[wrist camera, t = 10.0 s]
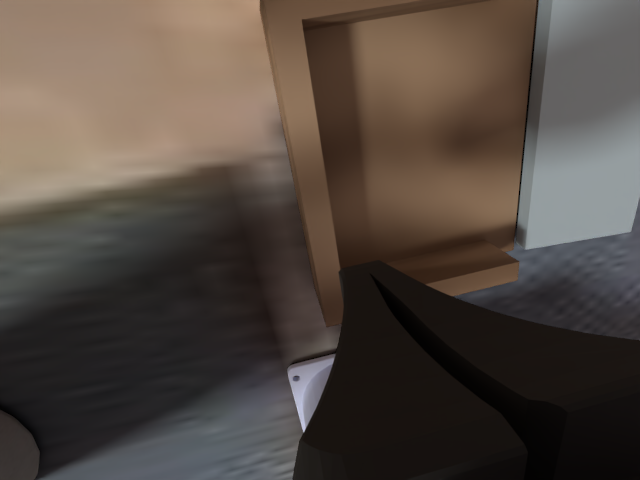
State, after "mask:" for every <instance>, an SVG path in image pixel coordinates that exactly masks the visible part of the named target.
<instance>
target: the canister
mask: <svg viewBox="0 0 640 480" xmlns="http://www.w3.org/2000/svg"><path fill="white" fill-rule="evenodd" d="M39 457H40V451H39V449H38V447H37V445H36V442H35V440H34V438H33V436H32V434H31V433H30V432H29V431H28V430H27V429H26V428H25V427H24V426H23V425H22V424H21V423H20V422H19V421H18V420H17V419H16V418H14V417H13V416H11V415H9V414H7V413H5V412H3V411H2V410H0V480H35V478H36V476H37V474H38V468H39Z"/></svg>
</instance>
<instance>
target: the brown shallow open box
mask: <svg viewBox="0 0 640 480" xmlns="http://www.w3.org/2000/svg"><path fill="white" fill-rule="evenodd" d="M536 4H537V0H260V14H261V19H262V24H263V29H264V34H265V39H266V44H267V49H268V54H269V59H270V64H271V69H272V74H273V79H274V85H275V90H276V95H277V100H278V105H279V110H280V115H281V120H282V125H283V130H284V135H285V140H286V145H287V150H288V155H289V160H290V166H291V171H292V176H293V181H294V186H295V191H296V196H297V201H298V206H299V211H300V216H301V221H302V226H303V231H304V236H305V241H306V247H307V252H308V257H309V262H310V267H311V272H312V277H313V282H314V287H315V291H316V294H317V297H318V301H319V304H320V307H321V310H322V314H323V317H324V320H325V324H326V327H330V326H334V325H338V324H342V318H343V308H344V305H343V298H342V292H341V286H340V280H339V273H338V272H339V271H340V270H341V268H345V267H350V266H354V265H358V264H363V263H367V262H371V261H376V260H380V261H382V262H384V263H386V264H388V265H389V266H391V267H393V268H395V269H397V270H399V271H400V272H402V273H404V274H406V275H408V276H410V277H412V278H414V279H416V280H417V281H419V282H421V283H423V284H425V285H427V286H430V287H432V288H434V289H436V290H438V291H440V292H443V293H445V294H447V295H450V296H456V295H460V294H464V293H468V292H472V291H476V290H480V289H484V288H488V287H492V286H496V285H500V284H505V283H509V282H513V281H517V279H518V270H519V261H517V260H516V259H514V258H513V257H511V256H510V255H508V254H506V253H505V252H507V251H511V250H513V249H514V238H515V227H516V217H517V206H518V195H519V185H520V174H521V163H522V153H523V142H524V132H525V121H526V110H527V100H528V89H529V78H530V68H531V57H532V46H533V36H534V25H535V14H536Z"/></svg>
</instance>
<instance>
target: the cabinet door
mask: <svg viewBox="0 0 640 480" xmlns="http://www.w3.org/2000/svg"><path fill="white" fill-rule="evenodd" d="M639 198H640V0H539V4H538V15H537V25H536V35H535V46H534V56H533V67H532V77H531V87H530V98H529V108H528V119H527V129H526V139H525V150H524V160H523V171H522V181H521V192H520V202H519V212H518V223H517V233H516V243H517V244H518V245H519V246H521V247H522V248H523V249H525V250H526V249H532V248H538V247H544V246H550V245H556V244H562V243H568V242H573V241H579V240H585V239H591V238H597V237H603V236H609V235H614V234H620V233H626V232H631V229H632V225H633V221H634V217H635V213H636V209H637V206H638V202H639Z"/></svg>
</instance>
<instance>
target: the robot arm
mask: <svg viewBox="0 0 640 480" xmlns="http://www.w3.org/2000/svg"><path fill="white" fill-rule="evenodd" d="M338 273H339V280H340V286H341V292H342V298H343V305H344V308H343V318H342V327H341V333H340V338H339V342H338V347H337V351H336V353H335V354H332V355H328V356H324V357H320V358H316V359H312V360H308V361H304V362H300V363H296V364H292V365H290V366H289V367H288V369H287V372H288V377H289V381H290V384H291V388H292V392H293V395H294V399H295V403H296V406H297V410H298V414H299V417H300V421H301V425H302V428H303V432H304V433H303V435H302V437H301V439H300V441H299V446H298V451H297V456H296V462H295V467H294V474H293V480H640V341H639V340H632V339H624V338H617V337H610V336H602V335H595V334H589V333H583V332H578V331H572V330H567V329H562V328H557V327H552V326H547V325H543V324H538V323H534V322H530V321H526V320H522V319H519V318H515V317H511V316H507V315H504V314H500V313H497V312H494V311H490V310H487V309H484V308H482V307H479V306H476V305H473V304H470V303H467V302H464V301H462V300H459V299H457V298H454V297H452V296H450V295H447V294H445V293H443V292H440V291H438V290H436V289H434V288H432V287H430V286H427V285H425V284H423V283H421V282H419V281H417V280H416V279H414V278H412V277H410V276H408V275H406V274H404V273H402V272H400V271H399V270H397V269H395V268H393V267H391V266H389V265H388V264H386V263H384V262H382V261H380V260H376V261H371V262H367V263H363V264H358V265H354V266H350V267H345V268H341V270H340V271H339V272H338ZM294 376H297V377H294Z"/></svg>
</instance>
